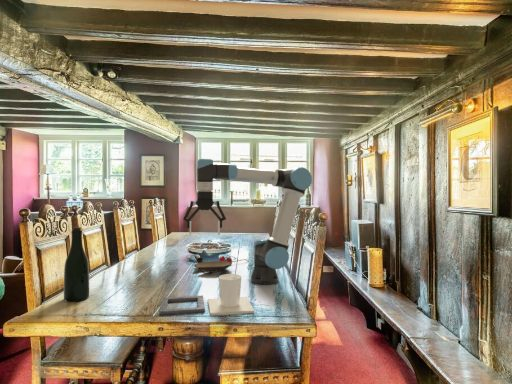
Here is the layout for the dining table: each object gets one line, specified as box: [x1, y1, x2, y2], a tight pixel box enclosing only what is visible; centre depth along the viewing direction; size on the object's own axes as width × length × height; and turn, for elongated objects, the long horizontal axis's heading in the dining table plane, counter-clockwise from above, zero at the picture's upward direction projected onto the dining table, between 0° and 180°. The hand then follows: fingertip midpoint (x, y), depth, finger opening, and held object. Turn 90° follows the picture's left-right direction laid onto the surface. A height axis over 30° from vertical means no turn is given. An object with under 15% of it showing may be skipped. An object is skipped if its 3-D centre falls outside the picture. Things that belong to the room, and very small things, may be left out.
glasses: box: [218, 255, 250, 265], centre depth 240 cm, size 14×16×5 cm
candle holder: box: [218, 273, 242, 308], centre depth 149 cm, size 10×10×12 cm
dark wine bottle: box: [63, 226, 90, 303], centre depth 158 cm, size 10×10×33 cm
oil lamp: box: [193, 254, 232, 273], centre depth 215 cm, size 22×30×8 cm
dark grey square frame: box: [159, 295, 206, 316], centre depth 149 cm, size 18×18×2 cm
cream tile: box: [207, 296, 255, 316], centre depth 149 cm, size 18×18×1 cm
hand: (204, 234), depth 167 cm, fingers open, 13 cm apart
